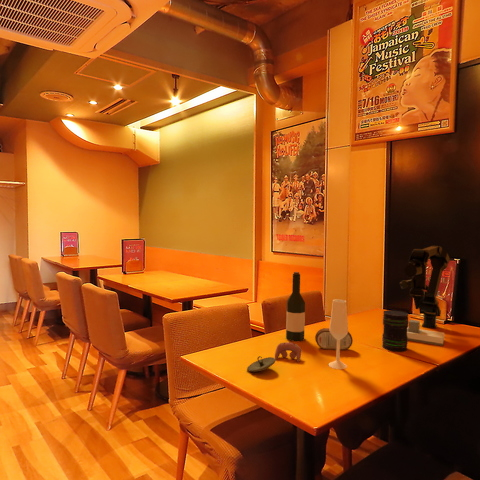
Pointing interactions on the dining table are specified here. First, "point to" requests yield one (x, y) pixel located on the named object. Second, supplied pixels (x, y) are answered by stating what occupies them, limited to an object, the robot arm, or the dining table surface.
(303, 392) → the dining table surface
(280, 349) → the video game controller
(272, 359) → the lid
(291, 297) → the wine bottle
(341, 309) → the champagne flute
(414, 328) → the plug
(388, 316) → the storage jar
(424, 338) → the cream socket panel
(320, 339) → the tin
